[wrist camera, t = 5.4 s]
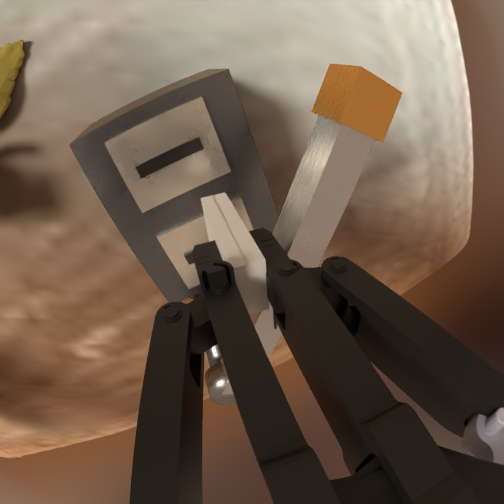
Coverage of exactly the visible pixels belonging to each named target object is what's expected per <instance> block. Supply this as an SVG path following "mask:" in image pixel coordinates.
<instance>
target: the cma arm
mask: <svg viewBox="0 0 504 504" xmlns="http://www.w3.org/2000/svg"><path fill="white" fill-rule="evenodd" d="M401 95H402V92H400V91H399V90H397V89H396V88H394V87H393V86H391V85H390V84H388V83H387V82H385V81H384V80H382V79H380V78H379V77H377V76H376V75H374V74H372V73H371V72H369V71H367V70H366V69H364V68H362V67H361V66H352V65H341V64H330V65H329V68H328V70H327V73H326V76H325V78H324V81H323V83H322V86H321V89H320V91H319V94H318V97H317V99H316V102H315V104H314V107H313V110H312V112H313V113H315V114H318V115H319V116H318V118H317V121H316V124H315V126H314V129H313V131H312V134H311V136H310V139H309V142H308V144H307V147H306V149H305V152H304V154H303V157H302V160H301V162H300V165H299V167H298V170H297V172H296V175H295V177H294V180H293V183H292V185H291V188H290V190H289V193H288V195H287V198H286V200H285V203H284V205H283V208H282V210H281V213H280V215H279V218H278V220H277V223H276V225H275V228H274V230H273V233H272V234H273V235H274V237H275V239H276V240H277V241H278V243H279V244H280V245H281V247H282V248H283V250H284V251H285V252H286V254H287V255H288V257H289V258H290V259H292V260H295V261H298V262H299V263H300V264H301V265H302V266H303V267H306V268H315V267H317V266H318V264H319V262H320V260H321V258H322V256H323V254H324V252H325V250H326V248H327V246H328V244H329V242H330V240H331V238H332V236H333V234H334V232H335V229H336V227H337V225H338V223H339V221H340V219H341V217H342V215H343V212H344V210H345V208H346V206H347V204H348V202H349V199H350V197H351V195H352V193H353V190H354V188H355V186H356V184H357V181H358V179H359V177H360V175H361V172H362V170H363V168H364V165H365V163H366V161H367V158H368V156H369V154H370V151H371V149H372V147H373V144H374V142H375V140H378V141H380V142H382V143H383V141H384V138H385V136H386V133H387V131H388V128H389V126H390V123H391V121H392V118H393V116H394V113H395V111H396V108H397V105H398V103H399V100H400V98H401ZM250 318H251V320H252V322H253V324H254V327H255V329H256V331H257V334H258V336H259V338H260V341H261V343H262V345H263V348H264V350H265V352H266V354H267V357H268V358H269V356H270V355H271V353H272V351H273V349H274V347H275V346H276V344H277V342H278V340H279V338H280V337H281V335H282V333H281V331H280V329H279V327H278V325H277V329H274V321H273V308H272V306H271V304H270V302H269V309H268V310H265V311H262V312H258V313H255V314H251V315H250ZM205 380H206V384H207V388H208V391H209V395H210V399H211V401H212V402H214V403H216V404H220V405H232V404H237V403H236V400H235V397H234V394H233V391H232V388H231V385H230V382H229V379H228V376H227V373H226V369H225V366H224V363H223V360H222V358H221V361H220V362H218V363H216V364H215V365H213V366H211V367H210V368H209V369H208V370H207V372H206V374H205Z"/></svg>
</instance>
